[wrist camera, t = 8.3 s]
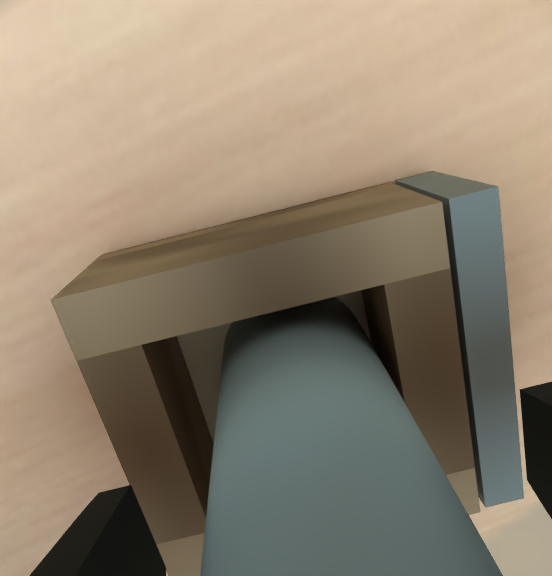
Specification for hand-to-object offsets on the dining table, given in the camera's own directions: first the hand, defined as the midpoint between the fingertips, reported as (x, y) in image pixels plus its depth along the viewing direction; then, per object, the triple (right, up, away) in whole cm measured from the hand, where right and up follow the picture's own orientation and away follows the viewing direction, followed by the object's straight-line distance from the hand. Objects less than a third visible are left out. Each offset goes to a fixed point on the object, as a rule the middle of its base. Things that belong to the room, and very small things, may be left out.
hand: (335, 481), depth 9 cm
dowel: (-1, +2, +5) cm, 5 cm away
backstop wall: (+4, +3, +5) cm, 7 cm away
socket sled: (-1, +2, +5) cm, 6 cm away
